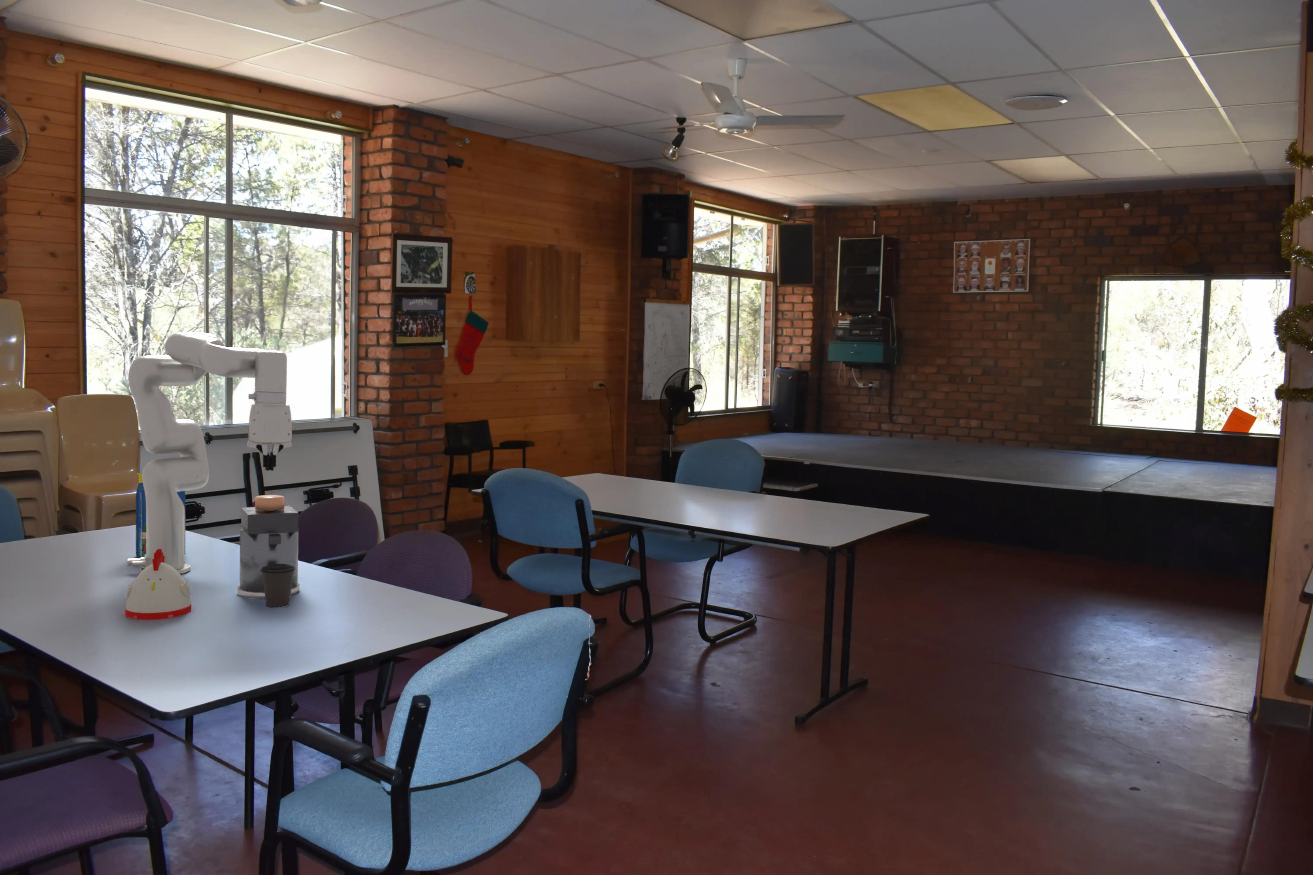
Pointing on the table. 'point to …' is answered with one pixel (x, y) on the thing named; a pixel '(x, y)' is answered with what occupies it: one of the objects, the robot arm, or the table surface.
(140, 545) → the blue food package
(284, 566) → the coffee cup
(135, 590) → the kitchen timer
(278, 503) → the button
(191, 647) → the table surface
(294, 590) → the airpot
